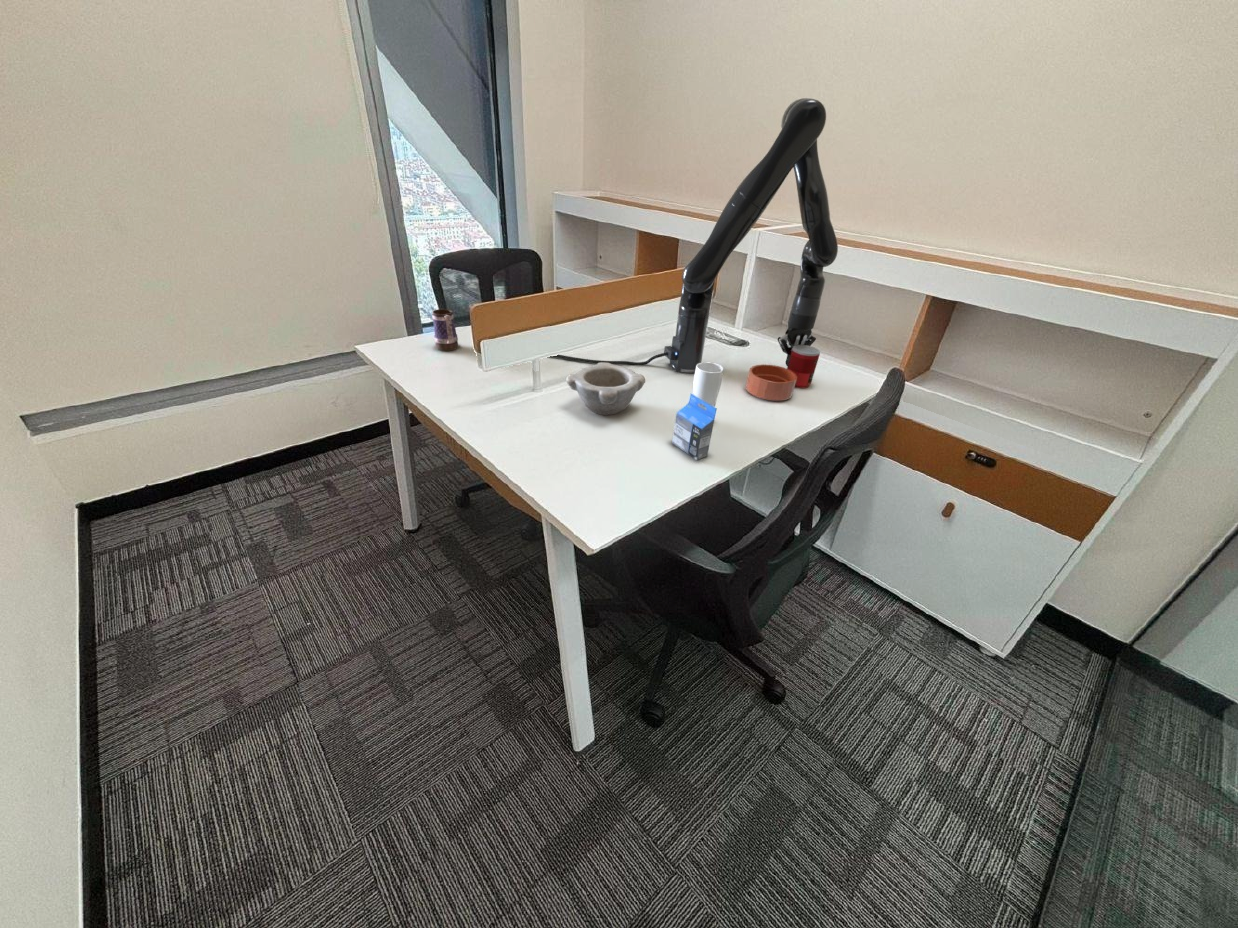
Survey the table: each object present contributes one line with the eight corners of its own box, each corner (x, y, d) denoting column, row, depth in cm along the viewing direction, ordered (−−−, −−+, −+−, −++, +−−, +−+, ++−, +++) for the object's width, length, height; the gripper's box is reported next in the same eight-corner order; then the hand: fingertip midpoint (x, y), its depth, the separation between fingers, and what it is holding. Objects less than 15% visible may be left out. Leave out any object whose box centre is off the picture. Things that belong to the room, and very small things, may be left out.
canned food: (812, 389, 150) (823, 355, 144) (785, 386, 151) (795, 352, 145) (807, 379, 156) (817, 346, 150) (782, 376, 157) (790, 343, 151)
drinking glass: (707, 430, 125) (717, 375, 117) (683, 422, 128) (691, 367, 119) (717, 420, 130) (728, 366, 121) (694, 412, 132) (702, 359, 124)
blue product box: (671, 443, 119) (677, 396, 112) (683, 439, 120) (690, 392, 114) (696, 460, 113) (704, 412, 106) (708, 456, 115) (717, 408, 108)
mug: (433, 345, 162) (428, 308, 155) (455, 342, 165) (451, 306, 158) (440, 356, 155) (435, 317, 148) (463, 353, 158) (459, 315, 151)
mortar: (560, 405, 131) (560, 373, 126) (604, 388, 142) (606, 357, 137) (605, 429, 122) (607, 396, 117) (649, 408, 133) (652, 377, 128)
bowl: (761, 404, 139) (766, 384, 136) (737, 384, 150) (740, 366, 147) (800, 400, 143) (806, 380, 140) (774, 381, 154) (779, 362, 151)
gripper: (814, 306, 151) (799, 360, 160) (778, 308, 147) (765, 363, 156) (831, 313, 145) (814, 369, 155) (793, 315, 141) (778, 372, 150)
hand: (789, 366), depth 155 cm, fingers closed
